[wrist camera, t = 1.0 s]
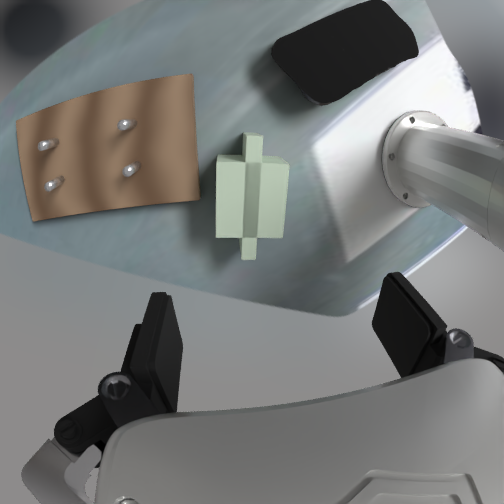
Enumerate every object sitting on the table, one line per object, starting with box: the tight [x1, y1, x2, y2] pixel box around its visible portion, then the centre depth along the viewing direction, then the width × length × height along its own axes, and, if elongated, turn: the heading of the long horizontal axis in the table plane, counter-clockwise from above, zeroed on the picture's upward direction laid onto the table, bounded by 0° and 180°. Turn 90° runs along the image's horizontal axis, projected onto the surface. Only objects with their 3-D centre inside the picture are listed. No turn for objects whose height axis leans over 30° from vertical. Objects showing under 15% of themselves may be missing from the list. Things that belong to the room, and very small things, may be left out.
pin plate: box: [16, 74, 201, 221], centre depth 24 cm, size 22×13×4 cm, turn 92°
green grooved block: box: [216, 133, 290, 260], centre depth 27 cm, size 12×6×5 cm, turn 177°
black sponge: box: [272, 0, 419, 106], centre depth 21 cm, size 16×8×4 cm, turn 126°
